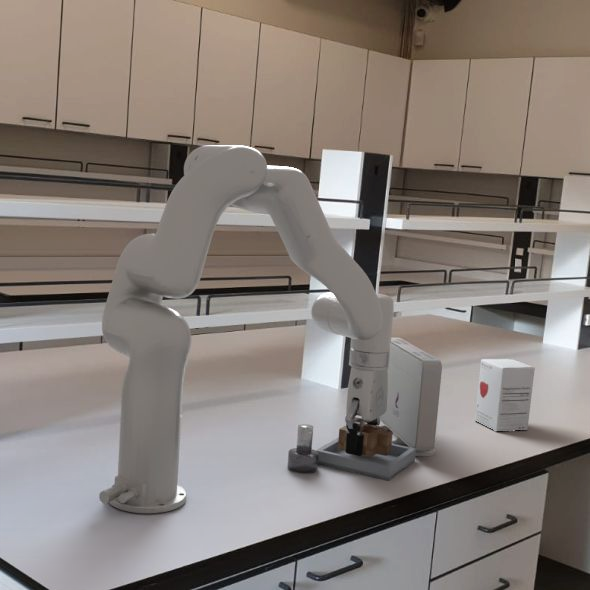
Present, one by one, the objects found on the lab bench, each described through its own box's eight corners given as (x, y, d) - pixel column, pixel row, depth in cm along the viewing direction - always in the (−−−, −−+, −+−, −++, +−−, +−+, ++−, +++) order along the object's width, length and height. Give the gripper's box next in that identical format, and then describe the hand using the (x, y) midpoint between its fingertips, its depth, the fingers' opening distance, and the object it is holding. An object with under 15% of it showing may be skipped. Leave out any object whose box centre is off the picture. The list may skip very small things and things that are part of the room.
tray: (388, 480, 157) (390, 467, 156) (314, 463, 163) (315, 450, 163) (414, 461, 169) (415, 448, 169) (344, 445, 176) (345, 433, 176)
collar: (395, 449, 167) (396, 429, 167) (381, 459, 161) (383, 438, 160) (352, 440, 171) (353, 421, 171) (337, 449, 165) (339, 428, 164)
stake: (309, 475, 156) (312, 432, 155) (282, 468, 159) (285, 426, 158) (322, 467, 161) (326, 425, 160) (296, 461, 164) (299, 420, 163)
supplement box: (473, 421, 202) (479, 358, 200) (505, 419, 205) (511, 358, 203) (495, 432, 194) (502, 367, 192) (528, 431, 197) (536, 366, 195)
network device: (364, 423, 193) (372, 335, 191) (401, 424, 195) (409, 336, 193) (404, 461, 168) (413, 361, 166) (446, 461, 171) (455, 362, 168)
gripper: (370, 369, 155) (362, 465, 157) (403, 355, 170) (396, 442, 173) (332, 362, 158) (324, 456, 160) (368, 349, 173) (361, 435, 176)
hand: (361, 448), depth 166 cm, fingers closed on collar, 7 cm apart
